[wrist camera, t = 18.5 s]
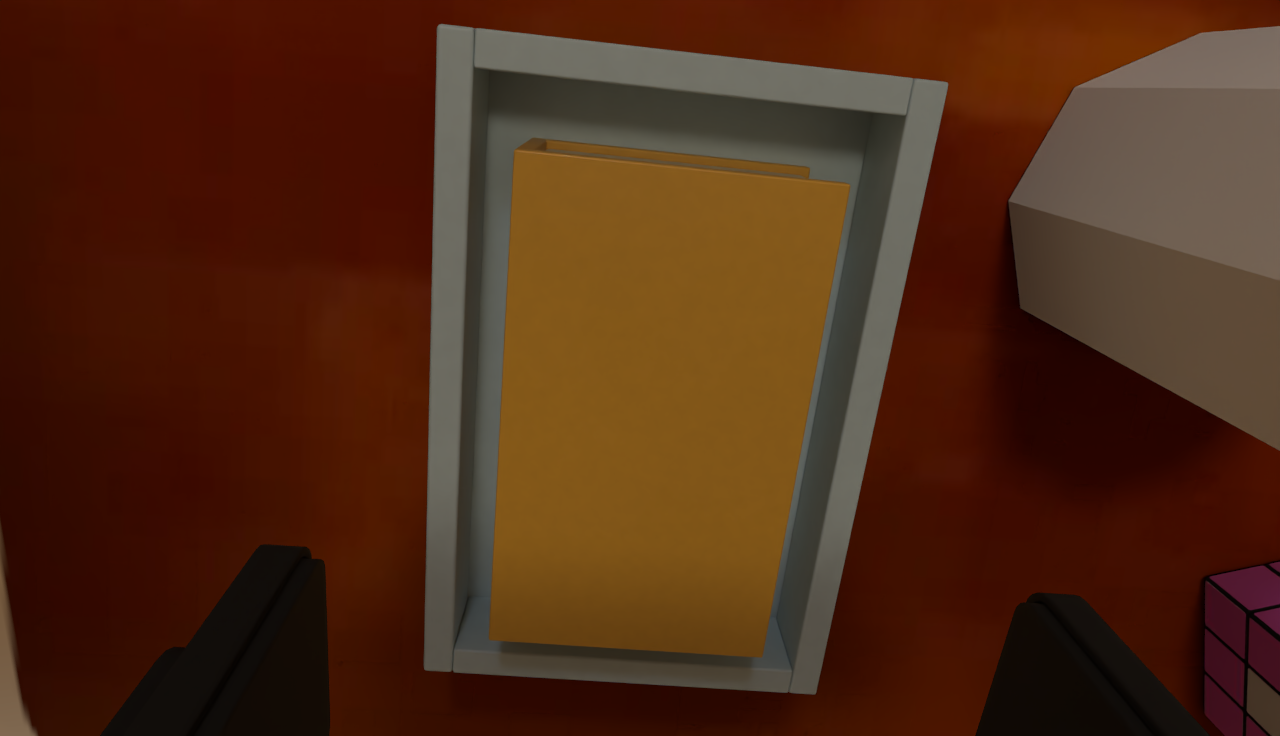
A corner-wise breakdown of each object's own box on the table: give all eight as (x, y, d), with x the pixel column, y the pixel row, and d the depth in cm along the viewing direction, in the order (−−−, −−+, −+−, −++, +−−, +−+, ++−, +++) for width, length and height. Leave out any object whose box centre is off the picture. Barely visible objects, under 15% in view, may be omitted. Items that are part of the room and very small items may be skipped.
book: (531, 137, 20) (513, 149, 16) (807, 166, 20) (851, 184, 17) (507, 553, 24) (488, 641, 20) (739, 569, 24) (762, 658, 21)
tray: (444, 605, 25) (422, 672, 22) (461, 32, 20) (436, 23, 17) (793, 629, 26) (816, 695, 23) (903, 82, 20) (950, 82, 18)
